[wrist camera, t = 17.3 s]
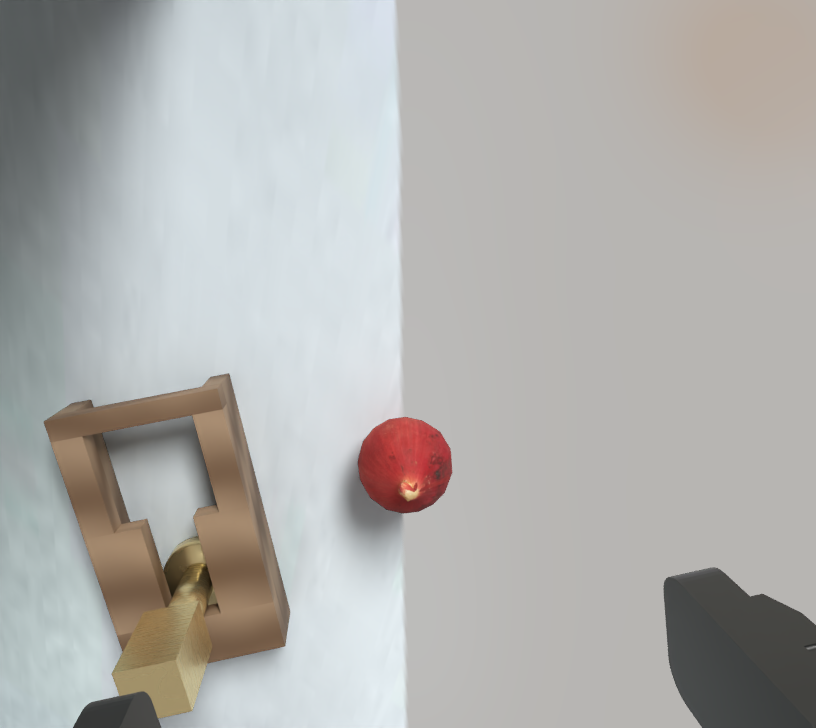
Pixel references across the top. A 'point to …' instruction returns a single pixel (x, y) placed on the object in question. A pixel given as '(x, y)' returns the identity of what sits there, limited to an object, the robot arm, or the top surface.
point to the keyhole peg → (172, 637)
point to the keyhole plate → (216, 525)
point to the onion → (405, 465)
